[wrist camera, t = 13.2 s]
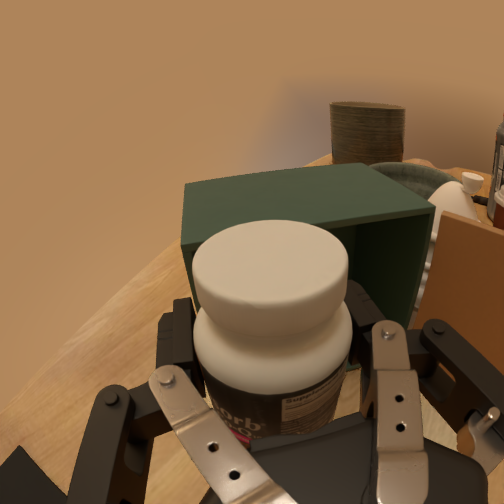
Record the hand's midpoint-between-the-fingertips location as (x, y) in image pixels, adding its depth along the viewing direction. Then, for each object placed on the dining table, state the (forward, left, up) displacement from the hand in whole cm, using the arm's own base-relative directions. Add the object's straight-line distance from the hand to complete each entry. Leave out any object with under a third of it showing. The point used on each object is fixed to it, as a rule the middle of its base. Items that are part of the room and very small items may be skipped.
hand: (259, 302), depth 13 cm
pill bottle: (+1, -2, -6) cm, 7 cm away
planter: (-3, +83, -18) cm, 85 cm away
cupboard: (-3, +14, -17) cm, 23 cm away
